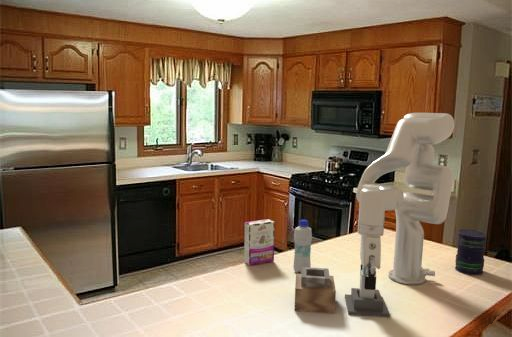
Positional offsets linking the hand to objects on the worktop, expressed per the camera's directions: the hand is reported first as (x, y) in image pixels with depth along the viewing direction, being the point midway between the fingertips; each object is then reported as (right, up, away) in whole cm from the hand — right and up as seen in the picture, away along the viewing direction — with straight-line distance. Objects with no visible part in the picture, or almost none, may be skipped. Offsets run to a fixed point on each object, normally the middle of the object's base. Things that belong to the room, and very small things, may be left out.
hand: (367, 282), depth 133 cm
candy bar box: (-33, -2, +39) cm, 51 cm away
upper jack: (-16, -7, +3) cm, 18 cm away
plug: (0, -7, +1) cm, 7 cm away
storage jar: (+48, -4, +34) cm, 59 cm away
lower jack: (0, -8, +1) cm, 8 cm away
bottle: (-17, -4, +29) cm, 34 cm away
